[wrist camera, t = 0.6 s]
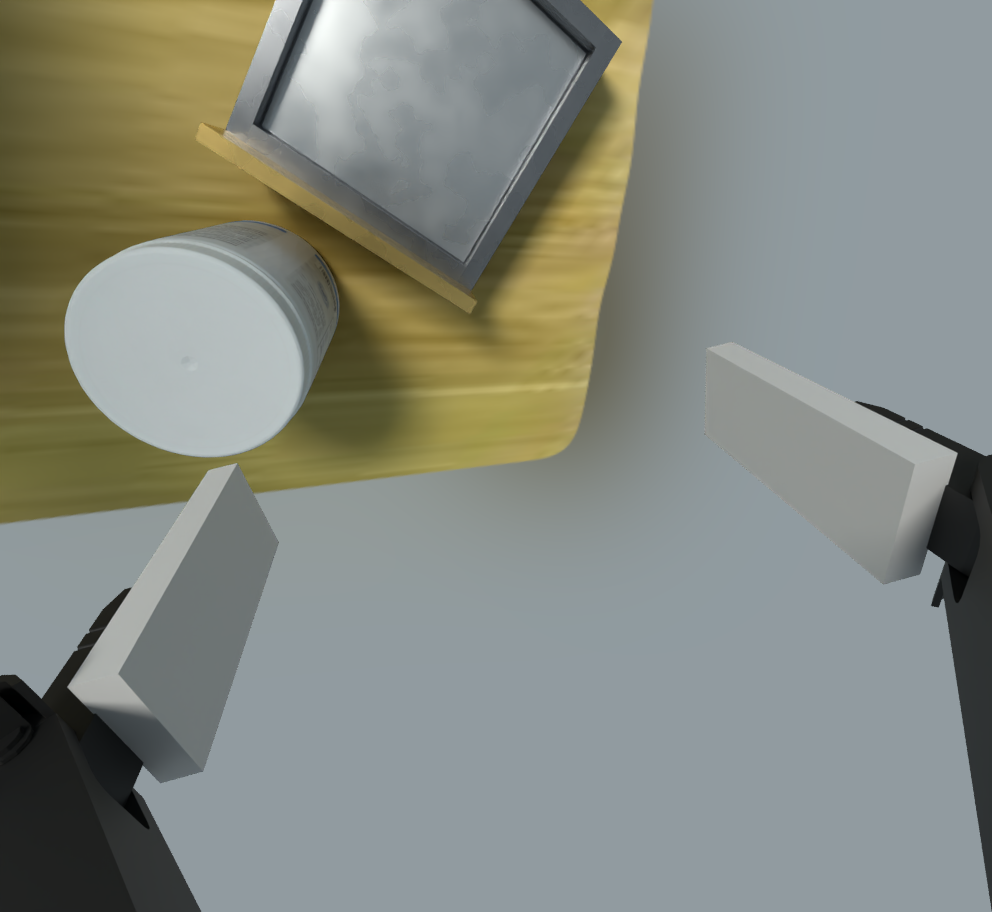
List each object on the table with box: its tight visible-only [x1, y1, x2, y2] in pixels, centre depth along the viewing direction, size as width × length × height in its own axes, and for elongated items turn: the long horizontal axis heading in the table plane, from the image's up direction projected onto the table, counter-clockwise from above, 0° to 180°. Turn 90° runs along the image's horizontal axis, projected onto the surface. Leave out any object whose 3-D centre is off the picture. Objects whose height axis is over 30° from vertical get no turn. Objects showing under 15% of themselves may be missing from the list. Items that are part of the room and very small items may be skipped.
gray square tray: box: [195, 0, 622, 314], centre depth 27 cm, size 15×16×8 cm
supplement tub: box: [64, 220, 340, 457], centre depth 28 cm, size 10×10×15 cm
